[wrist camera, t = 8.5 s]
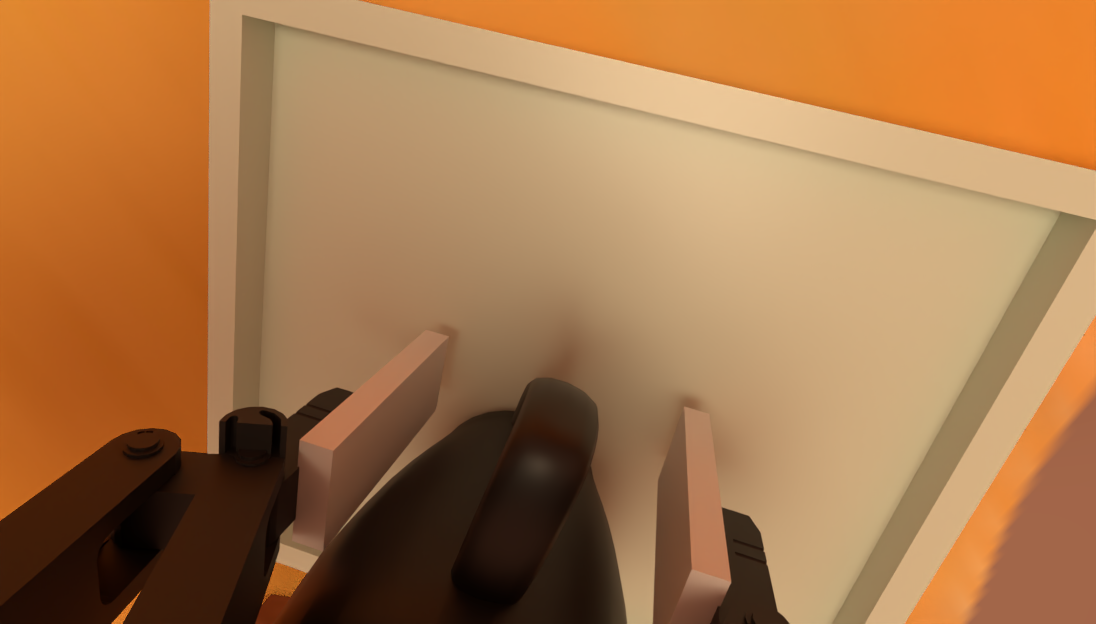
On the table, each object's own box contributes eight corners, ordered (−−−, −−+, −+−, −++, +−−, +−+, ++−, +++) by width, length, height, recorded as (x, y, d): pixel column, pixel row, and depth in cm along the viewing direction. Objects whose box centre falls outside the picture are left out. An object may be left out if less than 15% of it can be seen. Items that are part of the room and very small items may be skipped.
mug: (730, 335, 17) (828, 597, 8) (578, 599, 22) (537, 945, 13) (476, 229, 17) (302, 376, 8) (379, 515, 22) (201, 805, 13)
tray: (242, 504, 24) (206, 536, 22) (259, -18, 17) (209, -35, 15) (808, 703, 22) (821, 757, 20) (1109, 179, 14) (1174, 188, 13)
